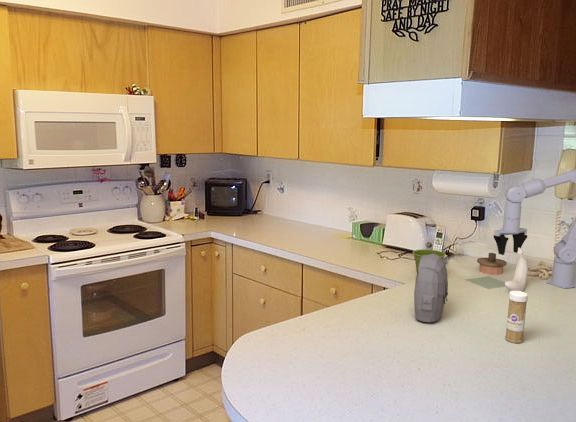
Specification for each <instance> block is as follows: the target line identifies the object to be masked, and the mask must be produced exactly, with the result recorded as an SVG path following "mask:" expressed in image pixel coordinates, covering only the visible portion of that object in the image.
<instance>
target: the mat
mask: <svg viewBox="0 0 576 422" xmlns="http://www.w3.org/2000/svg"><path fill="white" fill-rule="evenodd" d="M464 281H465V282H466V281H467V282H469V283H471V284H475V285H477V286H480V287H483V288H485V289H488V290H490V289H491V290H492V289H496V288H497V289H498V288H504V287H505V282H506V281H503V280H499V279H497V278H494V277H491V276H483V277H481V276H480V277H476V278H473V277H472V278H467V279H464ZM505 288H506V287H505Z"/></svg>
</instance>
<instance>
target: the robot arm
mask: <svg viewBox="0 0 576 422" xmlns="http://www.w3.org/2000/svg"><path fill="white" fill-rule="evenodd" d="M567 183H574V184H575V183H576V168H574V169H571V170H568V171H565V172H562V173H560V174H555V175H554V176H551V177H549V178H545V179H541V178H538V177H537V178H535V177H531V178H530V180H527V181H524V182H522V183H520V182H517V183H516V185H510V186H508V187H507V188H506V189H505V192H504V197H505V205H504V211H503V212H504V214H503V223H502V227H501V228H500V229H499V228H498V229H495V230H494V231H493V239H494V241H495V242H496V248H497V251H498V254H499V255H501V256H504V255H505V254H506V246H507V243H508V241H509V239H510V238H509V237H506V236H512V241H513V249H512V250H513V253H516V254H518V253H517V252H518V247H519V248H521V249H522V246H523V245H524V243H525V241H526V240H527V239H528V235H527V234H528V228H524V227H521V214H522V201H523V200H524V199H528V198H531V197H534V196H537V195H541V194H544V192H545V191H546V189H549V188H552V187H556V186H559V185H563V184H567ZM552 251H553V253H554V255H555V257H554V258H553V262H552V271H551V280H547V281H545V283H546V284H549V285H551V286H555V287H558V288H561V289H569V288H570V289H571V288H576V216H575V217H574V219H573V221H572V222H571V225H570V227H569V228H568V230H567V232H566V233H565V234H564V235H563V236H562V237H561V238H560V240H559V241H558V242H557V243H555V245H554V246H553V250H552Z"/></svg>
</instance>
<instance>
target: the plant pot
mask: <svg viewBox="0 0 576 422" xmlns="http://www.w3.org/2000/svg"><path fill="white" fill-rule="evenodd" d="M412 254H413V257H414V261H415V262H414V263H415V271H416V272H417V271H418V267H419V263H420V259H421V258H422V256H423V255H430V254H436V255H438V256H440V257H441V258H442V259H443V260H444V258H445V257H446V255H447V254H446V253H445V252H443V251H441V250H435V249H428V248H427V249H416V250H413V251H412Z"/></svg>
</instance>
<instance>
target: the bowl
mask: <svg viewBox="0 0 576 422" xmlns="http://www.w3.org/2000/svg"><path fill="white" fill-rule="evenodd" d="M503 271H504V266H502V267H494V266H486V265H482V264H479V272H481V273H482V274H485V275H491V276H498V275H502V274H503Z"/></svg>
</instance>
